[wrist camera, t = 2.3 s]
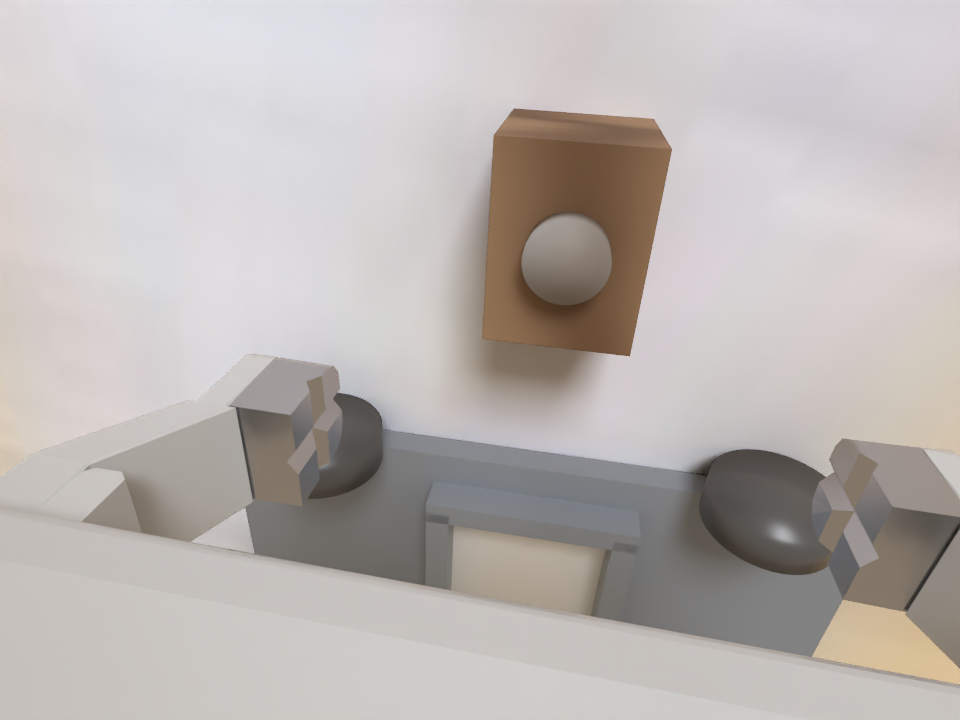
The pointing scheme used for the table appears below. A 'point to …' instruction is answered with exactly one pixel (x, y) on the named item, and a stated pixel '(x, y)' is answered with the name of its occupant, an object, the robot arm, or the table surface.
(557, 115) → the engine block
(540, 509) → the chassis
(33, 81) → the table surface
